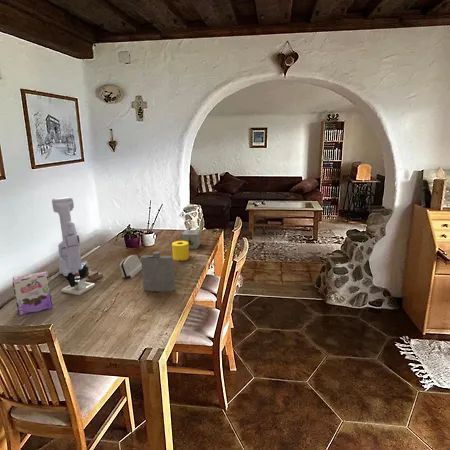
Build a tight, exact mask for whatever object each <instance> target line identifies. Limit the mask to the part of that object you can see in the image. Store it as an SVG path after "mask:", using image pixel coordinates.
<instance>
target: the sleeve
mask: <svg viewBox="0 0 450 450" xmlns="http://www.w3.org/2000/svg"><path fill="white" fill-rule="evenodd" d="M85 287H86V281H85V278H83V277H75V287H71V290H76V291H80V290H82V289H83V288H85Z"/></svg>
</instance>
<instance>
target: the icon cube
mask: <svg viewBox="0 0 450 450" xmlns="http://www.w3.org/2000/svg"><path fill="white" fill-rule="evenodd" d="M200 236H201V235H200V230H199V229H197V230H196V229H194V230H193V229H192V230H191V229H190V230H189V229H185V230H184V231H183V232H182V233H181V241H187V242H188V246H189V250H190V249H191V250H193V249H195V250H197V248H198V249H199V247H200V244H201V241H200V240H201V238H200Z"/></svg>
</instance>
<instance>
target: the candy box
mask: <svg viewBox="0 0 450 450" xmlns="http://www.w3.org/2000/svg"><path fill="white" fill-rule="evenodd" d="M12 287H13V291H14V292H13V293H14V299H15V304H16V305H15V306H16V310H17V315H18V316H23V314H24V315H28V314H32V313H36V312H42V311H47V310H52V309H53V300H52V293H51V286H50V280H49V273H48V271H43V272H35V273H29V274H25V275H24V274H23V275H17V276H12Z"/></svg>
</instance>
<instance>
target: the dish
mask: <svg viewBox="0 0 450 450" xmlns="http://www.w3.org/2000/svg"><path fill="white" fill-rule="evenodd" d="M95 285H96V284H95V283H94V282H92V283H89V282H86V287H85V288H83V289H82V290H80V291H76V290H71V286H70V284H69V285H67V286H65V287H63V288H61V293H65V294H70V295H76V296H80V295H82V294H84V293H86V292H88V291H89V290H91V289H92V288H94V287H95Z"/></svg>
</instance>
